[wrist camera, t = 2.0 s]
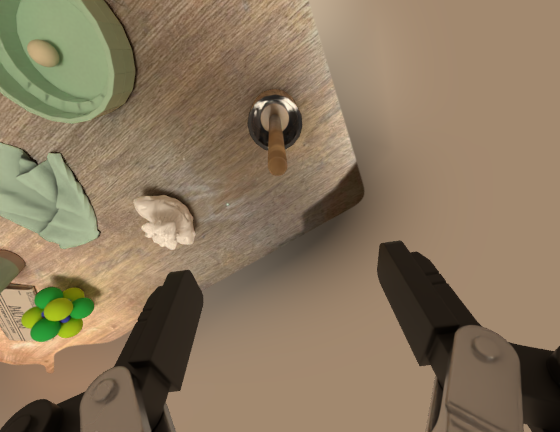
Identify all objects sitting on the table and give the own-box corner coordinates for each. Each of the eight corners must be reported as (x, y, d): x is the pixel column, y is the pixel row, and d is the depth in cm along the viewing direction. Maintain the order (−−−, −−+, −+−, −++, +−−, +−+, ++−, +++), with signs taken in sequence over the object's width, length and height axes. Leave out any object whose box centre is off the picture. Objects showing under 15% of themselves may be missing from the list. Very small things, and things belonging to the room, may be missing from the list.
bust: (203, 221, 49) (218, 231, 40) (176, 250, 47) (186, 268, 38) (152, 179, 44) (156, 179, 34) (120, 211, 42) (115, 220, 32)
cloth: (74, 257, 51) (66, 266, 49) (-55, 184, 40) (-72, 191, 38) (133, 206, 44) (126, 214, 42) (-5, 104, 34) (-22, 107, 32)
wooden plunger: (286, 98, 34) (299, 140, 18) (289, 127, 36) (305, 188, 20) (258, 103, 35) (247, 150, 18) (263, 131, 37) (258, 195, 20)
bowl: (95, -48, 26) (53, -71, 21) (157, 103, 35) (138, 111, 30) (-32, -18, 27) (-100, -34, 22) (59, 121, 36) (25, 132, 31)
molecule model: (61, 317, 57) (79, 340, 53) (12, 321, 49) (30, 348, 45) (82, 284, 58) (102, 304, 54) (38, 282, 50) (57, 305, 46)
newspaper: (-30, 277, 53) (-40, 286, 51) (38, 281, 56) (30, 290, 54) (4, 333, 65) (-4, 342, 63) (58, 334, 68) (52, 343, 66)
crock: (294, 84, 34) (298, 90, 29) (300, 134, 38) (304, 146, 33) (246, 93, 34) (242, 100, 29) (256, 141, 38) (254, 155, 33)
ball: (55, 37, 29) (36, 36, 27) (70, 64, 31) (53, 65, 29) (34, 42, 30) (14, 41, 27) (49, 68, 31) (32, 69, 29)
